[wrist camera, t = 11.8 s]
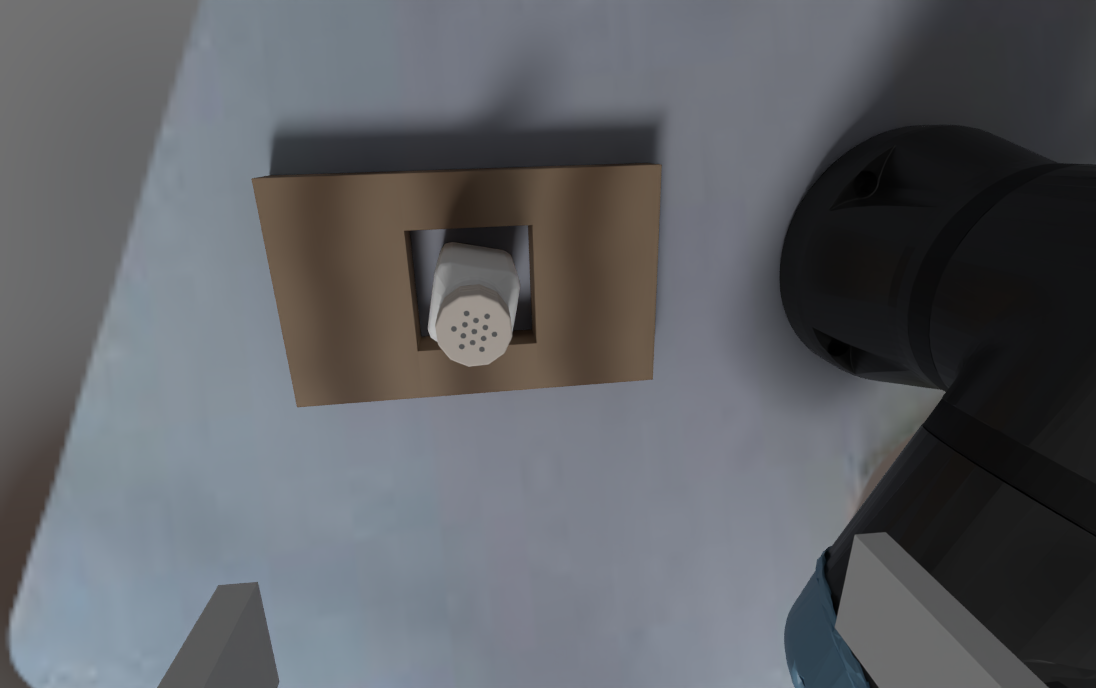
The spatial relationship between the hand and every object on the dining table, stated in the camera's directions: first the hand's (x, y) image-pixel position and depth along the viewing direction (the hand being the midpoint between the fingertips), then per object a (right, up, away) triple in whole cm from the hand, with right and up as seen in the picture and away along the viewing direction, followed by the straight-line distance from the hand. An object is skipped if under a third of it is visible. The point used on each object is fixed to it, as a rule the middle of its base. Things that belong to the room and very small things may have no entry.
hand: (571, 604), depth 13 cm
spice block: (-5, +10, +20) cm, 22 cm away
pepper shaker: (-5, +10, +20) cm, 22 cm away
